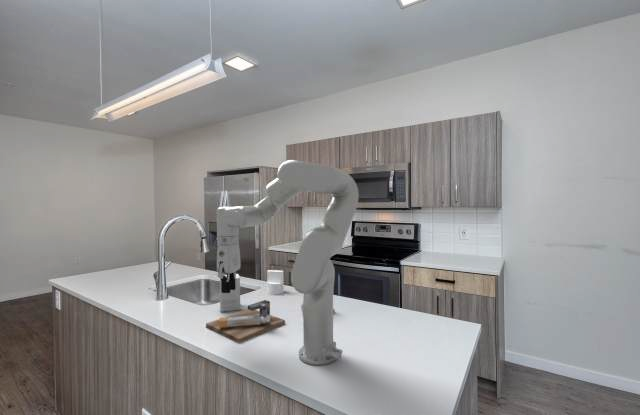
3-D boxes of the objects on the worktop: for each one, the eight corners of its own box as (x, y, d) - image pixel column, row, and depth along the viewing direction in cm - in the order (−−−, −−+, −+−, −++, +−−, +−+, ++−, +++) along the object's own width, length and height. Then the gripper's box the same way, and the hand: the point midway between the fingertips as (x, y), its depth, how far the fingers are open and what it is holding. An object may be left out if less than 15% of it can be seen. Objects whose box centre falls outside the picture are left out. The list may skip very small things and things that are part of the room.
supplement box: (239, 304, 148) (239, 273, 148) (240, 310, 139) (240, 277, 139) (220, 306, 145) (219, 274, 145) (219, 312, 136) (219, 279, 136)
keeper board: (285, 323, 123) (284, 304, 123) (239, 343, 106) (238, 320, 106) (251, 311, 137) (251, 294, 137) (206, 327, 120) (205, 307, 120)
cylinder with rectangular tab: (285, 290, 170) (285, 269, 170) (280, 295, 161) (280, 273, 161) (270, 289, 172) (270, 268, 172) (264, 294, 163) (264, 272, 163)
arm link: (270, 321, 121) (270, 302, 121) (270, 325, 117) (270, 306, 117) (220, 325, 118) (220, 305, 117) (218, 329, 113) (218, 309, 113)
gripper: (226, 243, 101) (227, 298, 101) (247, 238, 117) (247, 285, 117) (206, 243, 102) (206, 297, 102) (228, 238, 118) (229, 284, 119)
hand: (228, 290), depth 110 cm, fingers open, 3 cm apart
